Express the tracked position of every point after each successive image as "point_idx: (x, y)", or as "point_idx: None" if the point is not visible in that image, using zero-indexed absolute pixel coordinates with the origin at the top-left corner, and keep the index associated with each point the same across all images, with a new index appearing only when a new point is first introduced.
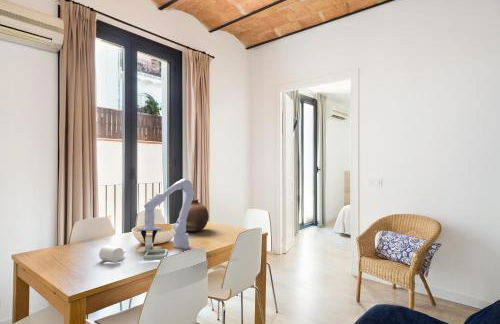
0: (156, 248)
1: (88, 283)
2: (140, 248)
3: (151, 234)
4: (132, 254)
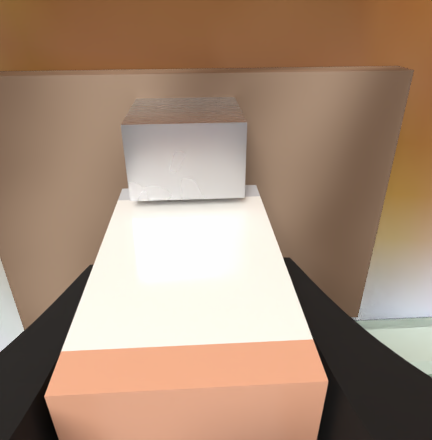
0: (311, 197)
1: None
2: (25, 179)
3: (258, 389)
4: (11, 338)
